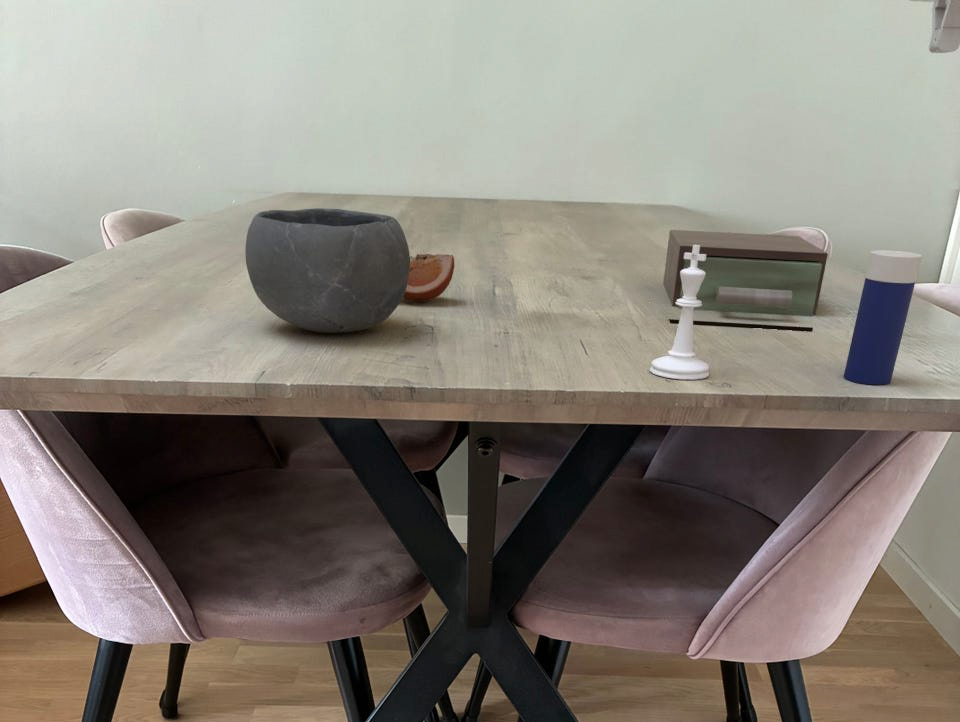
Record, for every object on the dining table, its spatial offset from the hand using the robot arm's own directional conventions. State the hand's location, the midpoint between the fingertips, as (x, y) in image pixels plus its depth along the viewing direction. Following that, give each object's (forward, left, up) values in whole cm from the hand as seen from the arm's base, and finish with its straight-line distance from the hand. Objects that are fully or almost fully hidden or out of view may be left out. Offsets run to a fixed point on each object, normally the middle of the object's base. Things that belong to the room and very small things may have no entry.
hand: (942, 52), depth 86 cm
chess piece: (+22, +23, -25) cm, 40 cm away
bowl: (+54, +14, -25) cm, 61 cm away
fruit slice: (+49, -4, -25) cm, 55 cm away
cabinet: (+14, -7, -25) cm, 29 cm away
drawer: (+14, -3, -24) cm, 28 cm away
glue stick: (+6, +21, -25) cm, 33 cm away
